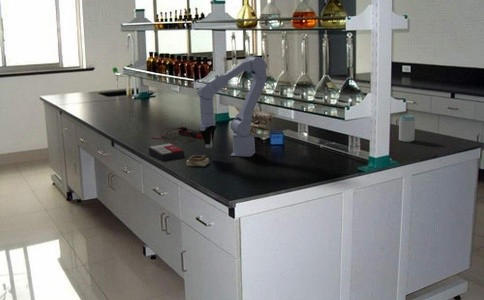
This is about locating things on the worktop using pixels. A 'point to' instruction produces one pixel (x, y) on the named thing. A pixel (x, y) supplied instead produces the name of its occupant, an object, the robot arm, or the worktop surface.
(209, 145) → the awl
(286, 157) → the worktop surface
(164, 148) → the calculator
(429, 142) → the worktop surface
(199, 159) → the tan rectangular frame
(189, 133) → the digital clamp meter
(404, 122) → the can
